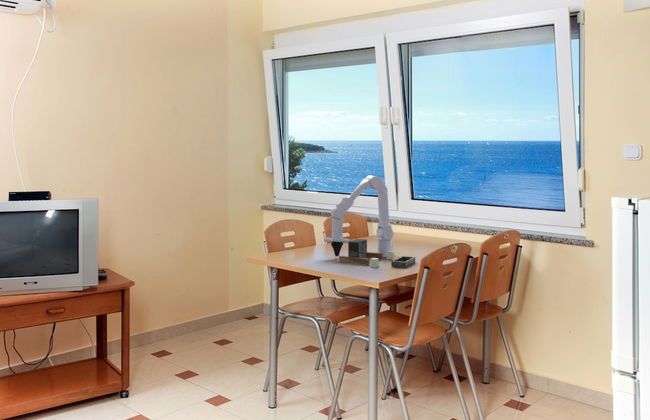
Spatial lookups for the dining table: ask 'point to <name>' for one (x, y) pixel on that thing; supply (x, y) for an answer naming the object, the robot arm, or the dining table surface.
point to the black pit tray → (403, 262)
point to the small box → (357, 248)
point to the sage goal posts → (376, 260)
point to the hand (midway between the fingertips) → (337, 256)
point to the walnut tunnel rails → (360, 260)
